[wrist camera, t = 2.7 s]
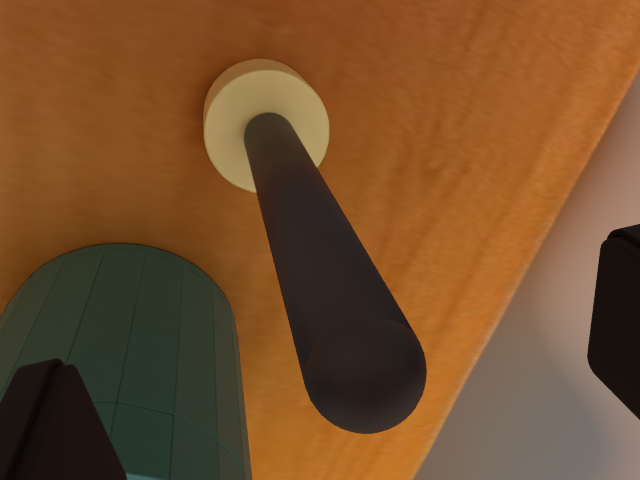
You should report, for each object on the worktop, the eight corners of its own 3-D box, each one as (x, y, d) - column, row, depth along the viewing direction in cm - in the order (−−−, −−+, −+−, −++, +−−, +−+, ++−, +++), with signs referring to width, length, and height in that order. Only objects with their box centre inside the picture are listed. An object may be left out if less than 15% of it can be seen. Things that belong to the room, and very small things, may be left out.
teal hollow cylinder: (-38, 272, 24) (-253, 544, 13) (208, 220, 25) (214, 426, 14) (55, 442, 29) (-37, 740, 18) (254, 392, 30) (285, 642, 19)
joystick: (190, 69, 22) (164, 315, 6) (307, 49, 23) (552, 227, 7) (217, 180, 24) (248, 559, 9) (322, 159, 25) (531, 479, 9)
